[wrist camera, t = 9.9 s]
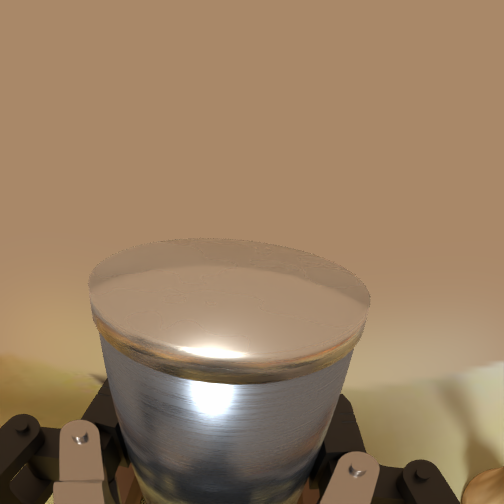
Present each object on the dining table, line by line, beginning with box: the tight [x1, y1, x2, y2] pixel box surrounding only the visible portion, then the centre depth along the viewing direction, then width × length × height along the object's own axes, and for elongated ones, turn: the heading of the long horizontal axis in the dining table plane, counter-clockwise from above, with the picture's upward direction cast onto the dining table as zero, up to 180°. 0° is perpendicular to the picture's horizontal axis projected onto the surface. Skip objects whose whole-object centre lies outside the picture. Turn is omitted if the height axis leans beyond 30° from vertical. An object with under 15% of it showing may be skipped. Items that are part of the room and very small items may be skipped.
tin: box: [88, 239, 370, 504], centre depth 9 cm, size 6×6×12 cm
